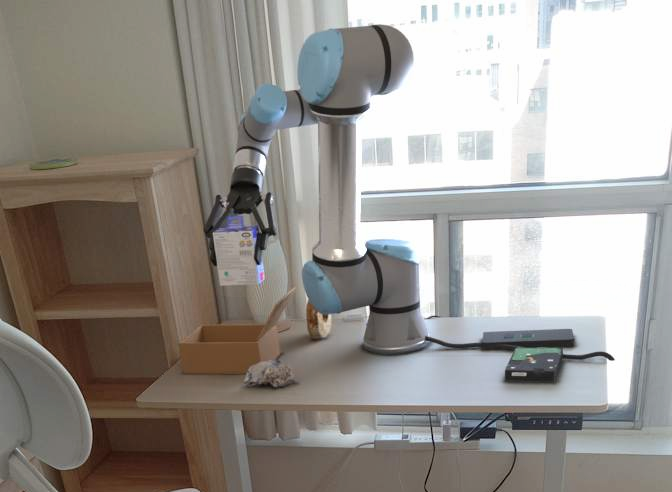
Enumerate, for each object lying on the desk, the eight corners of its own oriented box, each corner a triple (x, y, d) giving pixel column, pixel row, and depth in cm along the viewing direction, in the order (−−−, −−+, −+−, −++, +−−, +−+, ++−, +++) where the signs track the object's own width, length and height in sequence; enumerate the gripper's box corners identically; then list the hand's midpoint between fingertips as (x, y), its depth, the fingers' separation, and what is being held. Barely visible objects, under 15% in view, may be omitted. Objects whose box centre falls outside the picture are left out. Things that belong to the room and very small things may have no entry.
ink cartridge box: (266, 279, 219) (258, 214, 211) (260, 285, 215) (251, 219, 207) (226, 280, 221) (217, 216, 213) (219, 286, 217) (209, 221, 209)
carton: (280, 353, 218) (277, 324, 215) (261, 373, 207) (257, 342, 203) (205, 353, 223) (201, 324, 219) (183, 373, 212) (178, 343, 208)
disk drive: (556, 384, 187) (562, 359, 198) (556, 370, 185) (563, 346, 197) (504, 383, 190) (514, 358, 201) (504, 369, 188) (514, 345, 200)
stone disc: (320, 344, 222) (316, 301, 217) (306, 343, 223) (302, 301, 218) (335, 330, 230) (331, 289, 225) (321, 330, 231) (317, 289, 226)
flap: (276, 320, 214) (277, 321, 214) (257, 339, 203) (258, 340, 203) (294, 286, 209) (296, 287, 209) (276, 303, 198) (277, 304, 198)
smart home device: (483, 331, 214) (572, 327, 211) (483, 338, 215) (571, 335, 212) (482, 342, 207) (574, 338, 204) (482, 349, 208) (573, 346, 205)
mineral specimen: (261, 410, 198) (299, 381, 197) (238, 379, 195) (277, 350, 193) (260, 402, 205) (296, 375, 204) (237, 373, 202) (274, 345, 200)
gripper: (298, 184, 218) (286, 270, 213) (209, 188, 223) (195, 272, 219) (289, 162, 210) (277, 251, 206) (197, 168, 216) (183, 254, 212)
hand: (235, 262), depth 212 cm, fingers closed on ink cartridge box, 10 cm apart
